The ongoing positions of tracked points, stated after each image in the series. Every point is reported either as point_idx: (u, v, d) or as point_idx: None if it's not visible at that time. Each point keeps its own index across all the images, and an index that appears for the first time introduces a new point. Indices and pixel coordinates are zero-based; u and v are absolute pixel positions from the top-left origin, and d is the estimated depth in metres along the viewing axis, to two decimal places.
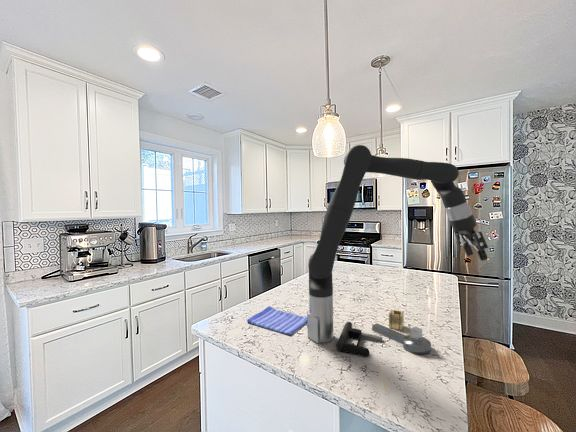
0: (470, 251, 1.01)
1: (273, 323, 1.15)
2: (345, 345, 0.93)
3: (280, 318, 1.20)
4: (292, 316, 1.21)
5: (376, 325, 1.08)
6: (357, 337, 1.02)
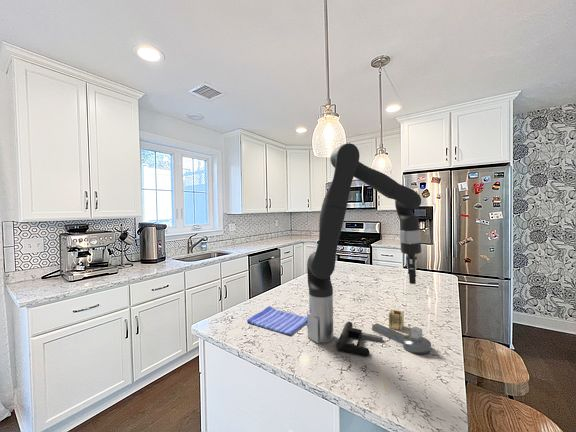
0: None
1: (273, 323, 1.15)
2: (345, 344, 0.93)
3: (280, 318, 1.20)
4: (292, 316, 1.21)
5: (376, 325, 1.08)
6: (357, 337, 1.02)
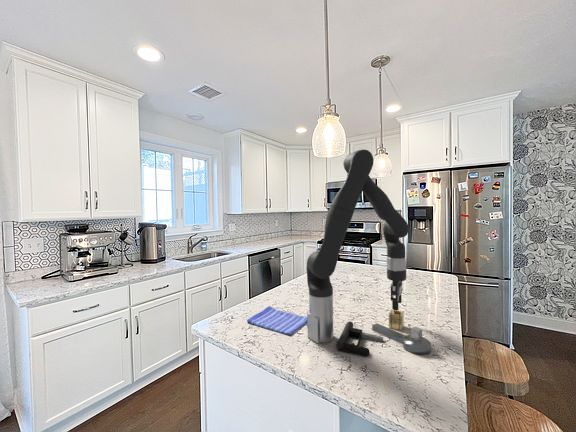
0: (399, 300, 1.14)
1: (273, 323, 1.15)
2: (345, 344, 0.94)
3: (280, 318, 1.20)
4: (292, 316, 1.21)
5: (376, 325, 1.08)
6: (358, 337, 1.02)
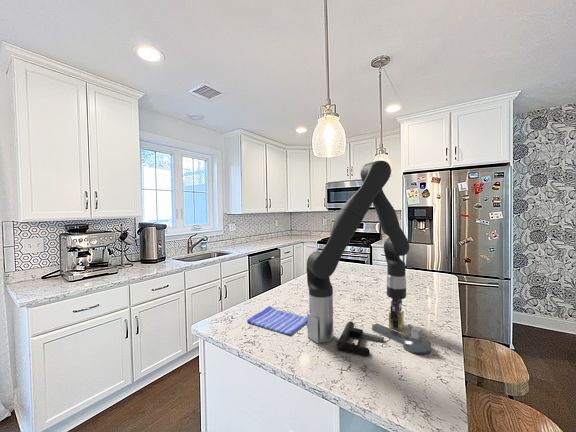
0: None
1: (273, 323, 1.15)
2: (345, 344, 0.94)
3: (280, 318, 1.20)
4: (292, 316, 1.21)
5: (376, 325, 1.08)
6: (358, 337, 1.02)
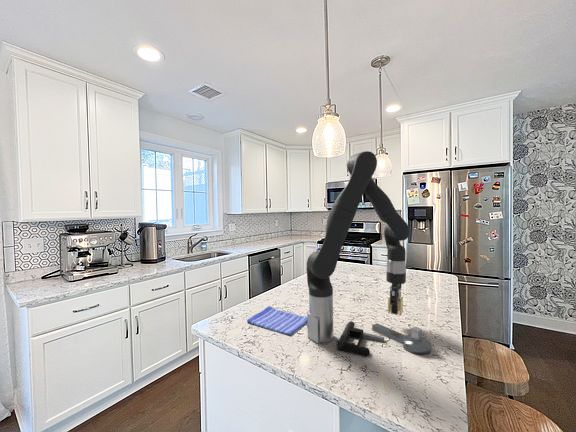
0: None
1: (273, 323, 1.15)
2: (345, 344, 0.94)
3: (280, 318, 1.20)
4: (292, 316, 1.21)
5: (376, 325, 1.08)
6: (359, 337, 1.02)
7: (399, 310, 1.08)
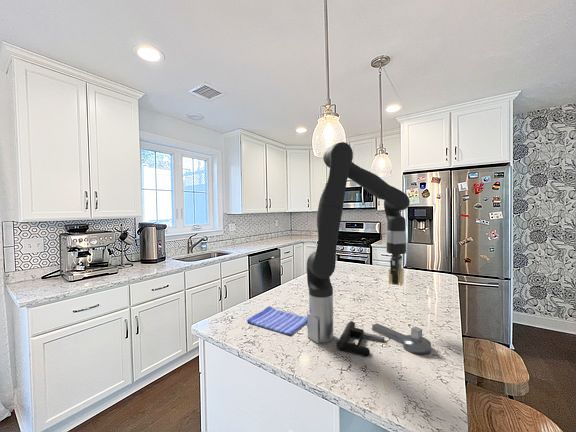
0: None
1: (273, 323, 1.15)
2: (346, 344, 0.94)
3: (280, 318, 1.20)
4: (292, 316, 1.21)
5: (376, 325, 1.08)
6: (359, 337, 1.02)
7: (400, 280, 1.07)
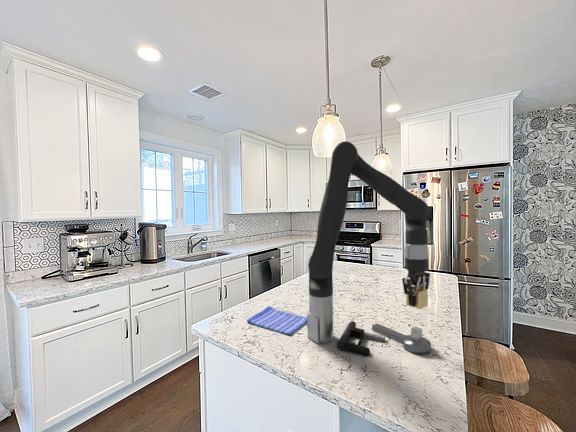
0: None
1: (273, 323, 1.15)
2: (346, 343, 0.94)
3: (280, 318, 1.20)
4: (292, 316, 1.21)
5: (376, 325, 1.08)
6: (360, 336, 1.02)
7: (418, 303, 0.91)
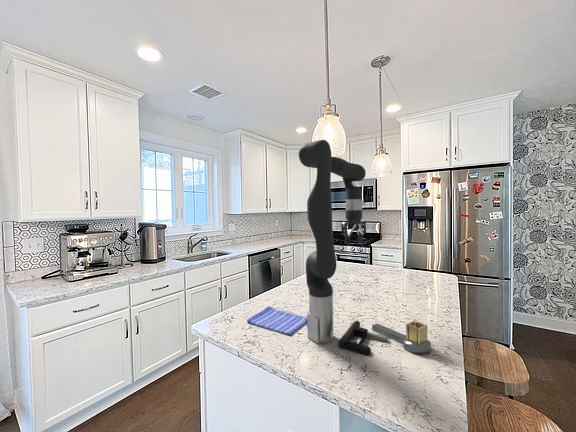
0: (360, 240, 1.27)
1: (273, 323, 1.15)
2: (347, 342, 0.95)
3: (280, 318, 1.20)
4: (292, 316, 1.21)
5: (376, 325, 1.08)
6: (362, 336, 1.03)
7: (417, 339, 0.92)
